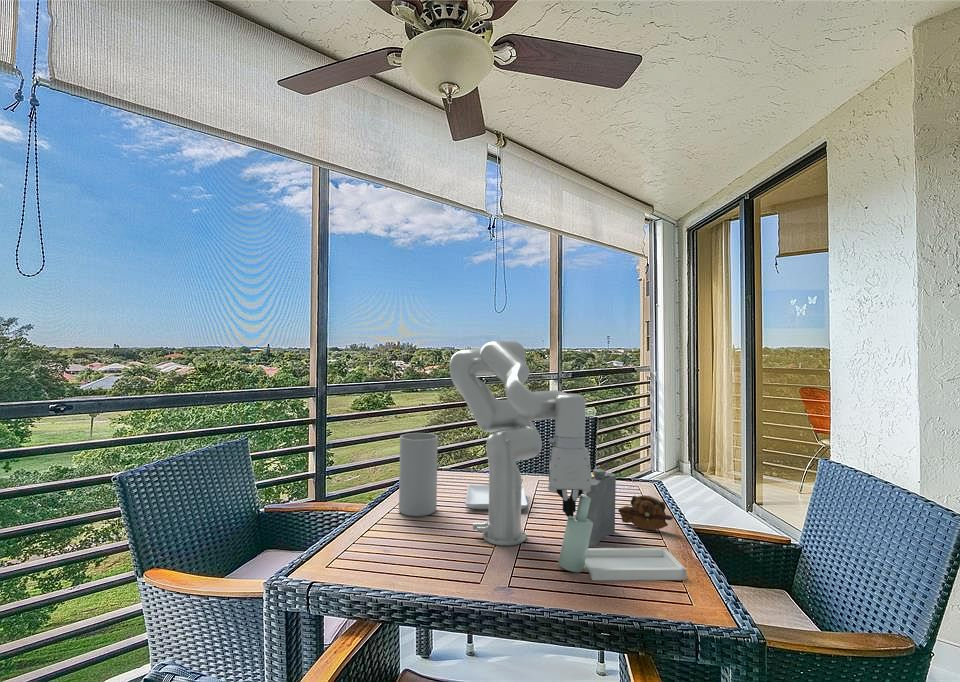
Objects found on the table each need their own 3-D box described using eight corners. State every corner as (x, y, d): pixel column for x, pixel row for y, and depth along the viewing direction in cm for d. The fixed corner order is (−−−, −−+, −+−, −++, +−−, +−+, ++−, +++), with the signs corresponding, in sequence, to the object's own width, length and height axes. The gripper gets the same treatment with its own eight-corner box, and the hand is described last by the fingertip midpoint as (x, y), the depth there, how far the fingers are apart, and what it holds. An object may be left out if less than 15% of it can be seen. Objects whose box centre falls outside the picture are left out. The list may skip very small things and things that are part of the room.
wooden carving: (616, 526, 159) (617, 494, 159) (619, 522, 164) (620, 490, 163) (672, 536, 152) (673, 503, 152) (674, 531, 156) (674, 498, 156)
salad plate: (528, 514, 170) (528, 504, 170) (464, 512, 170) (464, 502, 170) (523, 494, 191) (523, 485, 191) (467, 493, 192) (467, 484, 192)
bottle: (561, 569, 126) (576, 498, 126) (556, 558, 133) (570, 490, 133) (585, 574, 127) (601, 503, 127) (579, 562, 133) (594, 495, 133)
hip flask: (593, 548, 143) (594, 476, 143) (580, 544, 145) (581, 474, 145) (616, 531, 155) (617, 466, 155) (604, 528, 158) (605, 464, 158)
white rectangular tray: (592, 580, 123) (592, 570, 123) (579, 557, 136) (580, 548, 136) (686, 579, 124) (686, 569, 124) (664, 557, 137) (665, 548, 137)
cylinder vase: (396, 517, 164) (397, 439, 164) (401, 504, 177) (402, 432, 177) (435, 517, 165) (436, 440, 164) (437, 504, 177) (438, 433, 177)
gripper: (542, 445, 125) (542, 520, 125) (603, 445, 126) (602, 520, 126) (538, 439, 133) (537, 510, 133) (595, 440, 133) (594, 510, 133)
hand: (569, 514), depth 129 cm, fingers closed
